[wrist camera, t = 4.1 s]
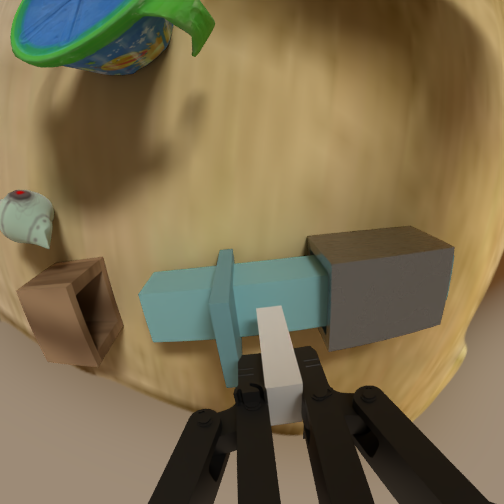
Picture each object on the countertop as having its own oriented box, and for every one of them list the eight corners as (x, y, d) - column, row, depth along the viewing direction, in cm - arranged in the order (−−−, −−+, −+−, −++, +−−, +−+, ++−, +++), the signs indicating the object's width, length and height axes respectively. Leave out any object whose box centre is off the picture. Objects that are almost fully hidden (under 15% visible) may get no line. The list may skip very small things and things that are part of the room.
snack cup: (246, 24, 16) (251, -53, 7) (171, 126, 19) (116, 101, 9) (109, -17, 13) (65, -67, 4) (46, 69, 16) (-24, 47, 6)
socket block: (55, 263, 22) (16, 290, 16) (102, 256, 22) (65, 287, 16) (76, 325, 24) (47, 361, 18) (123, 325, 24) (98, 367, 18)
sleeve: (307, 236, 22) (331, 264, 16) (410, 225, 22) (454, 247, 16) (309, 307, 24) (328, 351, 18) (404, 291, 24) (440, 324, 18)
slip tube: (153, 257, 22) (111, 310, 14) (424, 228, 22) (488, 260, 14) (169, 320, 24) (143, 388, 15) (418, 287, 24) (470, 333, 16)
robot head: (20, 214, 20) (-25, 232, 14) (26, 174, 19) (-22, 183, 13) (77, 240, 21) (33, 267, 15) (85, 196, 20) (37, 211, 14)
